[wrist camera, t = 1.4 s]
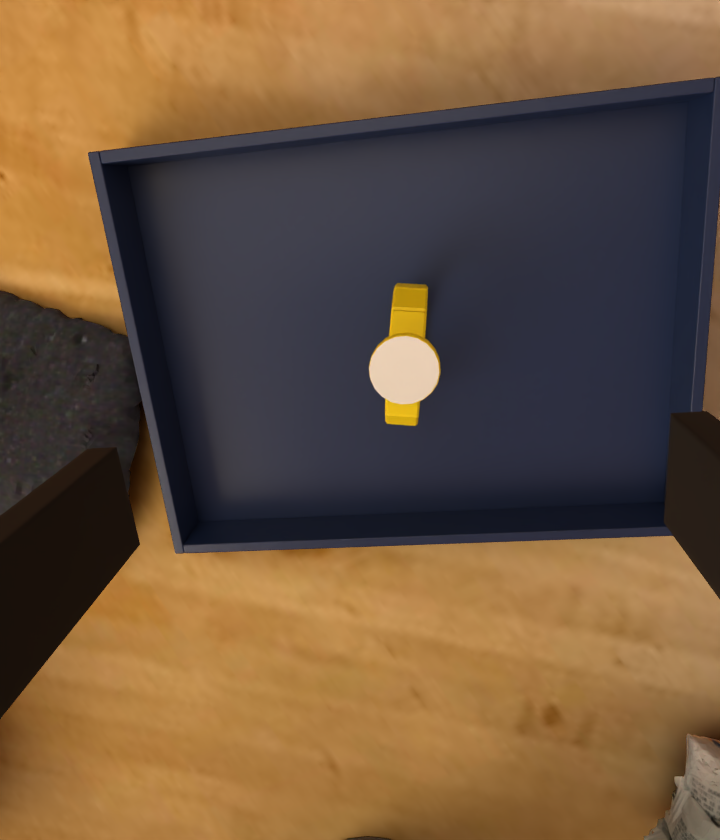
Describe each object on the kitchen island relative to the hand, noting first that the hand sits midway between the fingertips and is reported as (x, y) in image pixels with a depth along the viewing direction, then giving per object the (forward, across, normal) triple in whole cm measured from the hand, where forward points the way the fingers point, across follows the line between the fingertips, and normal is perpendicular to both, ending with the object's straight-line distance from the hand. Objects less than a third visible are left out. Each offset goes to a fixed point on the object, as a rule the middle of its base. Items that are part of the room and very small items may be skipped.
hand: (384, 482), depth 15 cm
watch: (+16, 0, 0) cm, 16 cm away
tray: (+16, 0, 0) cm, 16 cm away
